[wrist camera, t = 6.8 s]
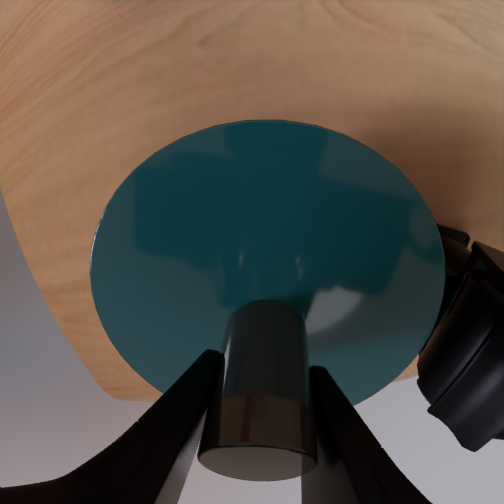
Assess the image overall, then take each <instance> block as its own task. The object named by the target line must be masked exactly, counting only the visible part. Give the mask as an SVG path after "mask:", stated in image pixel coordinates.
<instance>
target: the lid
mask: <svg viewBox="0 0 504 504" xmlns="http://www.w3.org/2000/svg"><path fill="white" fill-rule="evenodd" d="M445 277H446V276H445V256H444V251H443V246H442V241H441V237H440V233H439V230H438V228H437V225H436V223H435V220H434V218H433V216H432V213H431V211H430V209H429V208H428V206H427V204H426V203H425V201H424V199H423V198H422V196H421V195H420V193H419V192H418V190H417V189H416V188H415V186H414V185H413V184H412V183H411V182H410V181H409V180H408V178H407V177H406V176H405V175H404V174H403V173H402V172H401V171H400V170H399V169H398V168H397V167H396V166H395V165H393V164H392V163H391V162H390V161H388V160H387V159H386V158H384V157H383V156H382V155H381V154H379V153H378V152H377V151H375V150H373V149H372V148H370V147H368V146H366V145H364V144H362V143H361V142H359V141H357V140H355V139H353V138H351V137H349V136H347V135H344V134H341V133H339V132H336V131H333V130H330V129H327V128H324V127H321V126H317V125H313V124H307V123H301V122H295V121H288V120H244V121H238V122H232V123H227V124H221V125H216V126H212V127H209V128H206V129H203V130H200V131H198V132H195V133H192V134H189V135H187V136H184V137H182V138H180V139H178V140H176V141H174V142H173V143H171V144H169V145H167V146H165V147H164V148H162V149H160V150H158V151H157V152H155V153H154V154H153V155H151V156H150V157H149V158H148V159H146V160H145V161H144V162H143V163H142V164H140V165H139V166H138V167H137V168H135V169H134V170H133V171H132V172H131V174H130V175H129V176H128V177H127V178H126V179H125V180H124V182H123V183H122V184H121V185H120V186H119V187H118V189H117V190H116V191H115V193H114V195H113V196H112V198H111V199H110V201H109V203H108V204H107V206H106V208H105V209H104V212H103V214H102V216H101V219H100V221H99V224H98V226H97V229H96V232H95V236H94V240H93V245H92V250H91V260H90V279H91V289H92V295H93V299H94V303H95V307H96V310H97V313H98V316H99V318H100V321H101V323H102V326H103V328H104V330H105V331H106V333H107V335H108V337H109V339H110V341H111V342H112V344H113V345H114V347H115V348H116V349H117V351H118V352H119V354H120V355H121V356H122V357H123V359H124V360H125V361H126V362H127V363H128V364H129V365H130V366H131V368H132V369H133V370H134V371H136V372H137V373H138V374H139V375H140V376H141V377H142V378H143V379H144V380H145V381H147V382H148V383H149V384H151V385H152V386H153V387H155V388H156V389H157V390H159V391H160V392H162V393H165V392H166V391H167V390H168V389H169V388H170V387H171V386H172V385H173V384H174V383H175V381H176V380H177V379H178V378H179V377H180V376H181V375H182V374H183V373H184V372H185V371H186V370H187V369H188V368H189V367H190V366H191V365H192V364H193V363H194V362H195V360H196V359H197V358H198V357H199V356H200V355H201V354H202V353H203V352H204V351H205V350H206V349H213V350H217V351H219V352H220V356H219V361H218V365H217V370H216V374H215V379H214V384H213V388H212V392H211V395H210V399H209V403H208V407H207V412H206V416H205V421H204V425H203V430H202V435H201V439H200V444H199V449H198V454H197V458H198V461H199V462H200V463H201V465H203V466H204V467H205V468H207V469H209V470H211V471H213V472H215V473H218V474H221V475H223V476H227V477H231V478H236V479H241V480H249V481H278V480H286V479H291V478H295V477H298V476H302V475H304V474H307V473H309V472H310V471H312V470H313V469H314V468H315V467H316V466H317V464H318V448H317V433H316V420H315V408H314V396H313V386H312V376H311V366H312V365H317V366H324V367H325V368H326V369H327V370H328V372H329V373H330V375H331V376H332V378H333V379H334V380H335V382H336V383H337V385H338V386H339V387H340V389H341V390H342V392H343V393H344V394H345V396H346V397H347V399H348V400H349V401H350V403H351V404H352V406H354V405H356V404H358V403H360V402H362V401H364V400H365V399H367V398H369V397H371V396H373V395H374V394H376V393H377V392H378V391H380V390H381V389H383V388H384V387H386V386H387V385H388V384H389V383H391V382H392V381H393V380H394V379H395V378H397V377H398V376H399V375H400V374H401V373H402V372H403V371H404V370H405V369H406V368H407V367H408V366H409V364H410V363H411V362H412V361H413V360H414V358H415V357H416V356H417V354H418V353H419V352H420V350H421V349H422V348H423V346H424V344H425V343H426V341H427V339H428V337H429V336H430V334H431V332H432V330H433V327H434V325H435V323H436V320H437V318H438V315H439V312H440V308H441V304H442V300H443V296H444V287H445Z"/></svg>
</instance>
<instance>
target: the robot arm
mask: <svg viewBox="0 0 504 504" xmlns="http://www.w3.org/2000/svg"><path fill="white" fill-rule="evenodd" d="M436 225H437V228H438V230H439V233H440V237H441V241H442V246H443V251H444V256H445V276H446V277H445V287H444V296H443V300H442V304H441V308H440V312H439V315H438V318H437V320H436V323H435V325H434V327H433V330H432V332H431V334H430V336H429V337H428V339H427V341H426V343H425V344H424V346H423V348H422V349H421V350H420V352H419V359H418V363H417V368H418V375H419V378H418V379H417V384H418V387H419V389H420V391H421V393H422V394H423V396H424V397H425V398H426V400H427V401H428V402H429V403H430V404H431V406H430V407H429V408H428V410H427V411H428V413H429V414H431V415H433V416H435V417H436V418H438V419H440V420H441V421H442V422H443V423H444V424H445V425H446V426H448V428H449V429H450V430H451V431H452V432H453V434H454V435H455V437H456V438H457V440H458V441H459V443H460V444H461V446H462V447H464V448H466V449H468V450H470V451H473V452H476V451H478V450H479V449H480V448H482V447H483V446H484V445H485V444H486V443H488V442H489V441H490V440H491V439H500V440H504V252H501V251H499V250H497V249H494V248H492V247H490V246H487V245H485V244H482V243H480V242H477V241H474V242H473V244H472V247H471V249H472V251H470V250H468V249H467V246H468V243H469V241H470V236H469V235H468V234H467V233H465V232H462V231H459V230H456V229H453V228H450V227H446V226H443V225H440V224H436ZM465 237H466V238H465ZM464 239H465V240H464ZM219 356H220V352H219V351H217V350H213V349H206V350H205V351H204V352H203V353H202V354H201V355H200V356H199V357H198V358H197V359H196V360H195V362H194V363H193V364H192V365H191V366H190V367H189V368H188V369H187V370H186V371H185V372H184V373H183V374H182V375H181V376H180V377H179V378H178V379H177V380H176V381H175V383H174V384H173V385H172V386H171V387H170V388H169V389H168V390H167V391H166V392H165V393H164V394H163V395H162V396H161V397H160V398H159V399H158V400H157V401H156V402H155V403H154V404H153V405H152V406H151V407H150V408H149V409H148V410H147V411H146V412H145V413H144V414H143V415H142V416H141V417H140V418H139V419H138V421H136V422H135V423H134V424H133V425H132V426H131V427H130V428H129V429H128V430H127V431H126V432H125V433H124V434H123V435H122V436H120V437H119V438H118V439H117V440H116V441H115V442H113V443H112V444H111V445H109V446H108V447H107V448H105V449H104V450H103V451H101V452H100V453H99V454H97V455H96V456H94V457H93V458H91V459H90V460H88V461H87V462H86V463H84V464H82V465H81V466H80V467H78V468H77V469H75V470H73V471H72V472H70V473H69V474H67V475H65V476H62V477H60V478H57V479H54V480H50V481H46V482H40V483H34V484H28V485H21V486H14V487H5V488H1V487H0V504H177V503H178V500H179V497H180V494H181V491H182V489H183V486H184V483H185V480H186V478H187V475H188V472H189V469H190V467H191V464H192V461H193V458H194V455H195V453H196V450H197V447H198V444H199V441H200V439H201V435H202V430H203V425H204V421H205V416H206V412H207V407H208V403H209V399H210V395H211V392H212V388H213V384H214V379H215V374H216V370H217V365H218V361H219ZM311 376H312V386H313V396H314V408H315V420H316V433H317V448H318V464H317V466H316V467H315V468H314V469H313V470H312V471H310V472H309V473H307V474H304V475H302V476H301V487H302V504H432V503H431V502H430V501H429V500H427V499H426V497H425V496H424V495H423V494H422V493H421V492H420V491H419V490H418V489H417V488H416V487H415V486H414V485H413V484H412V483H411V482H410V481H409V480H408V479H407V478H406V476H405V475H404V474H403V473H402V472H401V471H400V470H399V468H398V467H397V466H396V465H395V463H394V462H393V461H392V460H391V458H390V457H389V456H388V454H387V453H386V452H385V450H384V449H383V448H381V445H380V443H379V442H378V441H377V439H376V438H375V436H374V435H373V434H372V432H371V431H370V430H369V428H368V427H367V425H366V424H365V423H364V421H363V420H362V418H361V417H360V416H359V414H358V413H357V411H356V410H355V408H354V407H353V406H352V404H351V403H350V401H349V400H348V399H347V397H346V396H345V394H344V393H343V392H342V390H341V389H340V387H339V386H338V385H337V383H336V382H335V380H334V379H333V378H332V376H331V375H330V373H329V372H328V370H327V369H326V368H325V367H324V366H317V365H312V366H311Z"/></svg>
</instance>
